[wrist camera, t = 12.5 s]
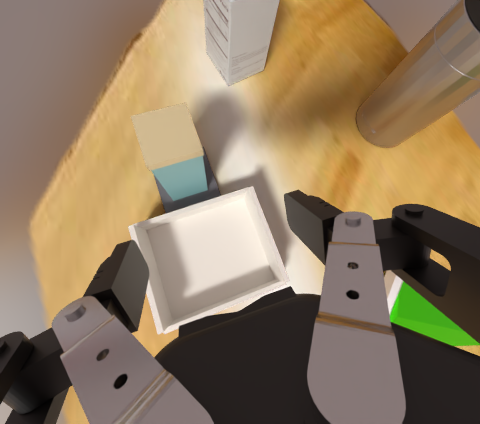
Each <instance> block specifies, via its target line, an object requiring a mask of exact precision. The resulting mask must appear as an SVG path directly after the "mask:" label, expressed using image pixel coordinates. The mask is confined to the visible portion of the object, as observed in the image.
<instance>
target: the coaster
mask: <svg viewBox="0 0 480 424" xmlns="http://www.w3.org/2000/svg"><path fill="white" fill-rule="evenodd" d="M202 148H203V152H204V155H203V161H204V168H205V175H206V181H207V188H208V190H207V191H204V192H201V193H197V194H194V195H191V196H188V197H185V198H182V199H178V200H175V201H173V200H172V198H171V197H170V196H169V194H168V193H167V192H166V190H165V189H164V187H163V186H162V185H161V183H160V182H159V181H158V179H157V178H156V177H155V175H154V177H155V180H156V183H157V187H158V190H159V193H160V196H161V200H162V203H163V206H164V209H165V212H166V213H170V212H173V211H176V210H179V209H182V208H185V207H188V206H191V205H194V204H197V203H201V202H204V201H207V200H210V199H213V198H216V197H219V196H221V194H220V192H219V189H218V186H217V183H216V181H215V178H214V175H213V172H212V169H211V167H210V164H209V161H208V158H207V156H206V153H205V150H204V147H202Z"/></svg>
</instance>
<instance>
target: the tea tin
mask: <svg viewBox="0 0 480 424" xmlns="http://www.w3.org/2000/svg"><path fill="white" fill-rule="evenodd" d="M131 118H132V122H133V125H134V128H135V131H136V135H137V138H138V141H139V144H140V148H141V151H142V154H143V158H144V161H145V164H146V167H147V168H148V169H149V171H152V172H153V174H154V175H155V177H156V178H157V179H158V181H159V182H160V183H161V185H162V186H163V187H164V189H165V190H166V192H167V193H168V194H169V196H170V197H171V198H172V200H173V201H175V200H178V199H182V198H185V197H188V196H191V195H194V194H197V193H201V192H204V191H207V190H208V188H207V181H206V175H205V168H204V161H203V155H204V152H203V148H202V145H201V143H200V140H199V137H198V134H197V132H196V129H195V126H194V123H193V121H192V118H191V115H190V112H189V109H188V107H187V104H186V103H182V104H178V105H174V106H170V107H166V108H161V109H157V110H153V111H149V112H145V113H141V114H137V115H133V116H131Z"/></svg>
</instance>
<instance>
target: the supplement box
mask: <svg viewBox="0 0 480 424" xmlns="http://www.w3.org/2000/svg"><path fill="white" fill-rule="evenodd" d="M279 1H280V0H203V2H204V17H205V35H206V51H207V55H208V56H209V58H210V60H211V61H212V63H213V64H214V66H215V67H216V69H217V70H218V72H219V73H220V75H221V76H222V78H223V79H224V81H225V82H226V84H227V85H228V86H230V85H232V84H234V83H237V82H239V81H241V80H243V79H245V78H248V77H250V76H252V75H254V74H257V73H259V72H261V71H263V70H264V67H265V62H266V58H267V53H268V49H269V44H270V40H271V36H272V31H273V27H274V23H275V18H276V14H277V9H278V5H279Z"/></svg>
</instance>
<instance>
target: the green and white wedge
mask: <svg viewBox="0 0 480 424" xmlns="http://www.w3.org/2000/svg"><path fill="white" fill-rule="evenodd" d="M384 282H385V289H386V295H387V302H388V309H389V315H390V322H393V323H395V324H398V325H400V326H403V327H406V328H408V329H411V330H413V331H416V332H418V333H421V334H424V335H426V336H429V337H431V338H434V339H436V340H439V341H442V342H444V343H447V344H449V345H452V346H466V345H480V344H479V343H478V342H477V341H476V340H474V339H473V338H472V337H471V336H470V335H468V334H467V333H466V332H465V331H463V330H462V329H461V328H460V327H459V326H457V325H456V324H455V323H454V322H452V321H451V320H450V319H449V318H448V317H446V316H445V315H444V314H443V313H442V312H440V311H439V310H438V309H437V308H435V307H434V306H433V305H432V304H431V303H429V302H428V301H427V300H426V299H425V298H423V297H422V296H421V295H420V294H418V293H417V292H416V291H415V290H414V289H412V288H411V287H410V286H409V285H408V284H406V283H405V282H404V281H403V280H401V279H400V278H399V277H398V276H397V275H395V274H394V273H393V272H392V271H391V270H387V271H386V274H385V277H384Z"/></svg>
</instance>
